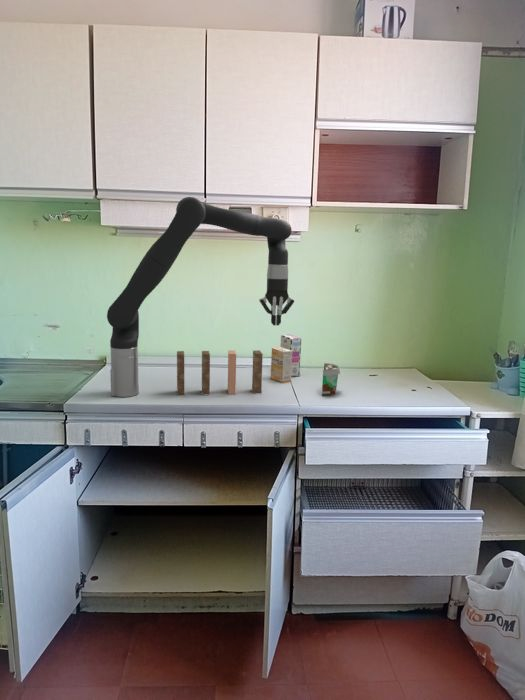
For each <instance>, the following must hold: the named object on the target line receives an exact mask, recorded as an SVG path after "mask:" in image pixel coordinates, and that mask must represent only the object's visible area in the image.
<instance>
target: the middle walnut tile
mask: <svg viewBox="0 0 525 700" xmlns="http://www.w3.org/2000/svg"><path fill="white" fill-rule="evenodd" d="M210 353H211V352H210V351H209V350H201V393H203V394H211V393H210V390H211V389H210V385H211V384H210V383H211V382H210V381H211V380H210V379H211V378H210V377H211V354H210ZM203 394H202V395H203Z"/></svg>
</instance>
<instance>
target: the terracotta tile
mask: <svg viewBox="0 0 525 700" xmlns="http://www.w3.org/2000/svg"><path fill="white" fill-rule="evenodd" d="M227 352H228V353H227V354H228V355H227V393H229V394H228V395H236V387H237V386H236V385H237V384H236V383H237V381H236V380H237V379H236V378H237V377H236V375H237V352H236V350H228V351H227Z"/></svg>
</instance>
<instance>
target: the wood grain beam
mask: <svg viewBox="0 0 525 700" xmlns="http://www.w3.org/2000/svg"><path fill="white" fill-rule="evenodd" d="M263 355H264V354H263V352H262V351H261V350H258V349H257V350H252V374H251V375H252V378H251V379H252V381H251V382H252V383H251V384H252V385H251V390H252V389H253V390H252V392H253V391H254V392H255V393H261V394H262V392H263V391H262V384H263ZM254 392H253V393H254ZM255 393H254V394H255Z"/></svg>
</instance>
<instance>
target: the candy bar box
mask: <svg viewBox="0 0 525 700" xmlns="http://www.w3.org/2000/svg"><path fill="white" fill-rule="evenodd" d="M280 347H282V348H285V349H288V350H292V351H293V352H292V372H291V378H297V377H298V378H299V377H300V371H301V369H300V368H301V367H300V366H301V351H302V350H301V349H302V338H300V337H297V336H295V335H293V334H281V335H280Z"/></svg>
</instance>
